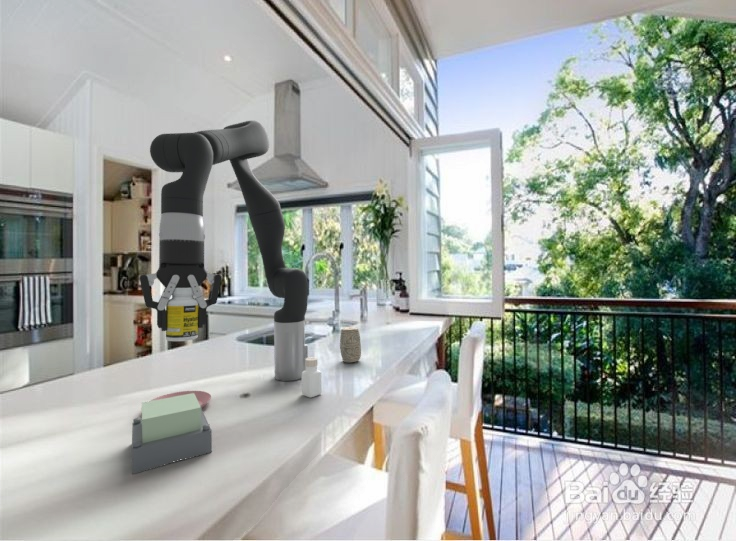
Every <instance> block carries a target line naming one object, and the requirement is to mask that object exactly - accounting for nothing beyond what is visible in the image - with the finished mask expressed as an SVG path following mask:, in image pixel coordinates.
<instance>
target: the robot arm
mask: <svg viewBox="0 0 736 541" xmlns="http://www.w3.org/2000/svg"><path fill="white" fill-rule="evenodd" d="M269 138H270V137H269V135H268V133H267V130H266V128H265V127H264V126H263V124H262V123H261V122H259V121H257V120H246V121H243V122H242V121H241V122H238V123H234V124H230V125H226V126H225V127H223V128H221V129H207V130H205V129H204V130H198V131H194V132H178V133H177V132H176V133H162V134H159V135H157V136H156V137H154V138H153V140H152V141H151V144H150V146H149V154H150V157H151V159H152V161H153V163H154V164H155V165H156V166H157V167H158V168H159V169H161V170H163V171H165V172H167V173H182V174H181V176H180V177H179V178H178V179H176V180H174V181H170V182H168V183H166V184H164V185H163V186H162V188H161V191H160V192H161V193H160V197H161V198H160V213H161V214H160V222H159V230H158V231H159V233H158V236H159V237H158V238H159V239H158V240H159V241H158V242H159V243H158V244H159V245H158V247H159V249H158V253H159V254H158V255H159V256H158V258H159V260H158V261H159V262H158V263H159V264H158V268H157V271H156V272H155V273H149V274H143V273H142V274H140V276H139V283H140V286H141V287H140V288H141V291H142V295H143V299H144V305H145V307H146V308H149V309H150V308H151V309H154V310H156V325H157V327H158V329H160V330H161V332H166V305H167V303H168V300H169V299H171V298H172V293H173V291H174V289H175V288H192V290H193V292H194V295H193V298H195V299H197V301H198V304H199V308H198V329H201V328H202V329H203V327H204V325H206V323H207V310H208V307H210V306H213V305H216V304H217V302H218V297H219V293H220V287H221V283H222V278H223V276H222V274H220V273H218V274H217V273H215V274H214V273H208V272H207V270H206V268H205V239H206V235H205V234H206V233H205V224H204V195H205V191H206V187H207V183H208V181H209V176H210V173H211V171H212V167H213V166H215V165H218V164H221V163H224V162H226V161H229V162H230V165H231V168H232V170H233V171H234V175H235V176H236V179H237V180H236V181H237V183H238V184H239V189H240V191H241V194H242V197H243V200H244V203H245V206H246V210H247V214H248V217H249V220H250V224H251V227H252V229H253V232H254V235H255V238H256V242H257V244H258V248H259V251H260V254H261V258H262V264H263V266H264V273H265V278H266V283H267V287H268V289H269V291H270V293H271V294H272V296H274V297H276V298H278V299H284V300H283V306H282V308H280V309H278V310H276V311H274V313H273V329H274V330H273V331H274V332H273V335H274V336H273V340H274V341H273V342H274V343H273V344H274V350H273V351H274V379H276V380H278V381H282V382H285V381H286V382H288V381H297V380H302V372H303V371H305V370H306V367H305V359H306V358H309V356H308V354H309V352H308V351H309V350H308V344H306V328H305V327H306V324H305V322H306V321H305V320H306V312H307V310H308V298H309V297H308V296H309V293H308V292H309V282H308V281H309V280H308V277H307V276H308V275H307V274H306V273H305V272H304V270H302V269H300V268H295V267H294V268H289V267H287V266H286V263H285V261H284V260H285V259H284V257H283V250H282V249H283V248H282V247H283V241H284V237H285V231H286V223H285V218H284V215H283V211H282V207H281V204H280V202H279V200H278V199H277V198H276V196H275V195H274V194H273V193H272V192H271V191H270V190H268V188H266V187H265V186H264V184H262V183H261V181H259V179H258V178H257V177H256V176H255V175H254V173H253V170H252V169H251V166H250V164H249V162H248V160H251V159H254V158H259V157H262V156H264V155H265V154H266V153H268V151H269V148H270V139H269ZM156 279H157V280H158V281H159V282H160V283H161V285H162V286H163V287H164V289H163V291H162V293H161V295H160V298H159V300H158V301H155V300H153V295H152V291H151V286H153V285H154V283H155V280H156ZM206 279H207V281H208V284H209V285H210V290H209V294H208V298H206V299H205V298H204V294H203V292H202V290H201V288H200V286H201V285H202V284H203V283H204V281H205V280H206Z"/></svg>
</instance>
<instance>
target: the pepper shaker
mask: <svg viewBox="0 0 736 541" xmlns="http://www.w3.org/2000/svg"><path fill="white" fill-rule="evenodd" d="M318 364H319V363H318V357H315V356H312V357H310V356H309V357H308V358H306V359H305V367H306V370H305V371H303V372H302V378H301V395H303V396H305V397H307V398H310V399H311V398H315V397H317V396H319V395H321V394H322V390H323V389H322V372H321V370H319V369H318V366H319V365H318Z"/></svg>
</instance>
